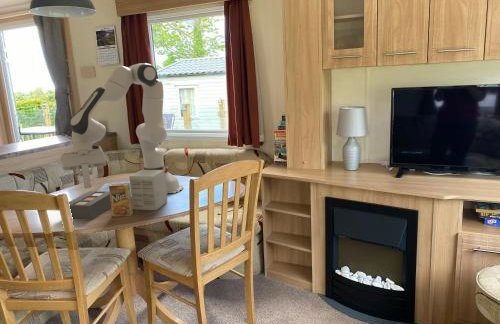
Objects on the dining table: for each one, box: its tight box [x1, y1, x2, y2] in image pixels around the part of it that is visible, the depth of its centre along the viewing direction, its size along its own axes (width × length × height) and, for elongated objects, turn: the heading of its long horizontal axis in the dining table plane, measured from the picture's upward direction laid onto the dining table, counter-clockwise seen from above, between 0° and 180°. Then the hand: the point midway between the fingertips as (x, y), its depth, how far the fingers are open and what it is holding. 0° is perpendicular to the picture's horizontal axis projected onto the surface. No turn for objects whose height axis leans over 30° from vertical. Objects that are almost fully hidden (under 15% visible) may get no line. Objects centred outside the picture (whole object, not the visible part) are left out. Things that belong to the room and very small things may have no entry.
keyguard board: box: [68, 190, 111, 221], centre depth 192 cm, size 14×22×7 cm, turn 171°
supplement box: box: [128, 169, 168, 211], centre depth 195 cm, size 13×13×18 cm
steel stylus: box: [81, 163, 92, 189], centre depth 188 cm, size 3×3×12 cm
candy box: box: [108, 182, 134, 217], centre depth 184 cm, size 9×4×15 cm, turn 89°
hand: (86, 174), depth 188 cm, fingers closed on steel stylus, 3 cm apart
